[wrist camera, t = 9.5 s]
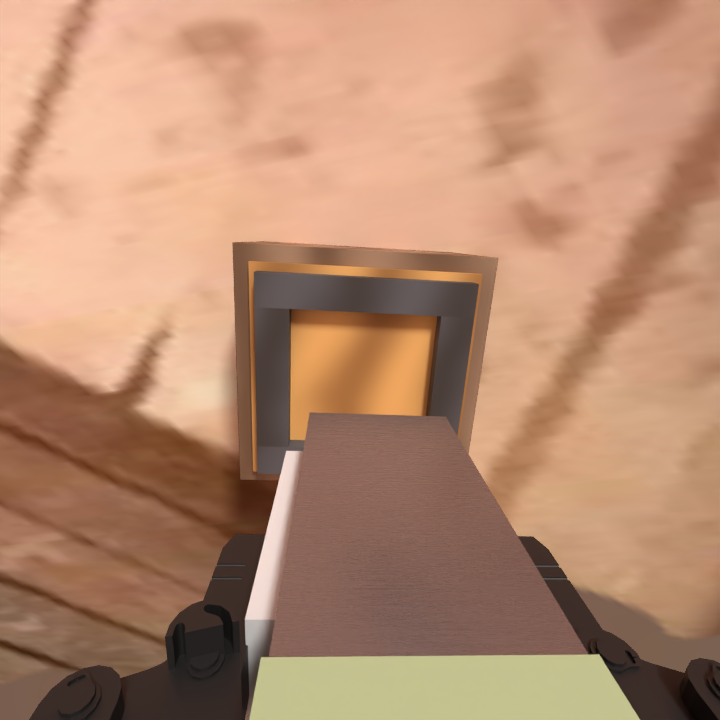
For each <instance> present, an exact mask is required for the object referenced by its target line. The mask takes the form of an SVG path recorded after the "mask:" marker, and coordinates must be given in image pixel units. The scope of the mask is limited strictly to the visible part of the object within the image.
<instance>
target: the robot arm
mask: <svg viewBox="0 0 720 720" xmlns="http://www.w3.org/2000/svg"><path fill="white" fill-rule="evenodd" d="M302 455H303V451H286V454H285V458H284V462H283V467H282V471H281V475H280V479H279V483H278V487H277V491H276V495H275V499H274V503H273V507H272V511H271V515H270V519H269V523H268V527H267V532H266V535H254V534H235V535H234V536H233V538H232V539H231V540H230V541H229V542H228V543H227V544H226V545H225V546H224V547H223V549H222V552H221V554H220V557H219V560H218V563H217V567H216V568H215V571H214V573H213V576H212V580H211V581H210V584H209V587H208V589H207V592H206V595H205V597H204V600H203V601H200V602H197V603H195V604H192V605H190V606H189V607H187V608H186V609H184V610H183V611H182V612H180V613H179V614H178V615H177V616H176V618H175V619H174V620H173V621H172V622H171V624H170V625H169V628H168V631H167V633H166V636H165V641H166V650H167V660H166V661H165V662H163V663H162V664H160V665H158V666H155V667H153V668H151V669H148V670H145V671H142V672H139V673H136V674H133V675H129V676H126V677H123V678H120V676H119V674H118V673H117V672H116V671H114V670H113V669H112V668H111V667H106V666H100V665H98V666H93V667H88V668H83V669H81V670H79V671H77V672H75V673H73V674H71V675H69V676H67V677H66V678H65V679H63V680H62V681H61V682H60V683H58V684H57V685H56V686H55V687H53V688H52V689H51V690H50V691H49V693H48V694H47V695H46V696H45V698H44V699H43V700H42V701H41V702H40V704H39V705H38V707H37V708H36V710H35V711H34V713H33V714H32V716H31V718H30V719H29V720H245V715H246V710H247V705H248V716H250V714H251V708H252V703H253V697H254V692H255V687H256V681H257V676H258V671H259V665H260V660H261V657H269V653H270V647H271V641H272V635H273V629H274V623H275V617H276V611H277V605H278V599H279V593H280V587H281V581H282V575H283V569H284V563H285V557H286V551H287V545H288V539H289V533H290V527H291V521H292V515H293V509H294V503H295V497H296V491H297V485H298V479H299V473H300V467H301V461H302ZM518 538H519V539H520V541H521V543H522V544H523V546H524V548H525V549H526V551H527V553H528V554H529V556H530V558H531V559H532V561H533V563H534V564H535V566H536V568H537V569H538V571H539V573H540V574H541V576H542V578H543V579H544V581H545V583H546V584H547V586H548V588H549V589H550V591H551V593H552V594H553V596H554V598H555V599H556V601H557V603H558V604H559V606H560V608H561V609H562V611H563V613H564V614H565V616H566V618H567V619H568V621H569V623H570V624H571V626H572V628H573V629H574V631H575V633H576V634H577V636H578V638H579V639H580V641H581V643H582V644H583V646H584V648H585V649H586V651H587V653H588V654H589V655H598V654H599V655H600V657H601V658H602V660H603V661H604V663H605V665H606V666H607V668H608V669H609V671H610V673H611V674H612V676H613V677H614V679H615V681H616V682H617V684H618V685H619V687H620V689H621V690H622V692H623V693H624V695H625V697H626V698H627V700H628V701H629V703H630V705H631V706H632V708H633V709H634V711H635V712H636V714H637V716H638V717H639V719H640V720H720V663H718V662H716V661H713V660H708V659H702V658H699V659H695V660H691V662H690V663H689V665H688V667H687V669H686V671H685V673H682V672H679V671H676V670H672V669H669V668H665V667H662V666H659V665H655V664H652V663H649V662H646V661H643V660H641V659H640V658H639V656H638V655H637V653H636V652H635V651H634V650H633V649H632V648H631V647H630V646H629V645H628V644H627V643H625V642H624V641H623V640H621V639H620V638H618V637H617V636H615V635H613V634H612V633H610V632H606V631H604V630H602V628H601V627H600V625H599V624H598V622H597V621H596V620H595V618H594V616H593V615H592V613H591V612H590V610H589V609H588V608H587V606H586V605H585V603H584V602H583V600H582V599H581V597H580V596H579V594H578V593H577V591H576V590H575V588H574V587H573V585H572V584H571V582H570V581H568V580H567V576H566V575H565V573H564V572H563V570H562V569H561V568H559V565H558V563H557V562H556V560H555V559H554V557H553V556H552V554H551V553H550V551H549V550H548V549H547V548H546V547H545V546H544V545H542V544H541V543H540V542H539V541H538V540H536V539H535V538H534V537H524V536H518Z"/></svg>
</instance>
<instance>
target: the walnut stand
mask: <svg viewBox="0 0 720 720" xmlns="http://www.w3.org/2000/svg"><path fill="white" fill-rule="evenodd" d="M497 264H498V258H493V257H485V256H477V255H468V254H460V253H450V252H433V251H416V250H399V249H382V248H365V247H348V246H331V245H315V244H298V243H281V242H264V241H263V242H233V271H234V301H235V332H236V362H237V393H238V423H239V454H240V480H279V479H280V475H281V471H282V467H283V462H284V458H285V454H286V451H303V449H304V443H305V437H306V431H307V425H308V419H309V413H310V412H316V413H348V414H379V415H411V416H443V417H446V418H447V420H448V421H449V423H450V425H451V426H452V428H453V430H454V431H455V433H456V435H457V436H458V438H459V440H460V441H461V443H462V445H463V446H464V448H465V450H466V451H467V453H468V454H469V447H470V440H471V434H472V427H473V421H474V414H475V408H476V401H477V395H478V388H479V382H480V375H481V369H482V362H483V355H484V349H485V342H486V336H487V329H488V323H489V316H490V310H491V303H492V297H493V290H494V283H495V277H496V270H497Z"/></svg>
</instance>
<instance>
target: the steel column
mask: <svg viewBox="0 0 720 720" xmlns="http://www.w3.org/2000/svg"><path fill="white" fill-rule="evenodd" d="M249 720H640V719H639V717H638V716H637V714H636V712H635V711H634V709H633V708H632V706H631V705H630V703H629V701H628V700H627V698H626V697H625V695H624V693H623V692H622V690H621V689H620V687H619V685H618V684H617V682H616V681H615V679H614V677H613V676H612V674H611V673H610V671H609V669H608V668H607V666H606V665H605V663H604V661H603V660H602V658H601V657H600V655H599V654H598V655H589V654H588V653H587V651H586V649H585V648H584V646H583V644H582V643H581V641H580V639H579V638H578V636H577V634H576V633H575V631H574V629H573V628H572V626H571V624H570V623H569V621H568V619H567V618H566V616H565V614H564V613H563V611H562V609H561V608H560V606H559V604H558V603H557V601H556V599H555V598H554V596H553V594H552V593H551V591H550V589H549V588H548V586H547V584H546V583H545V581H544V579H543V578H542V576H541V574H540V573H539V571H538V569H537V568H536V566H535V564H534V563H533V561H532V559H531V558H530V556H529V554H528V553H527V551H526V549H525V548H524V546H523V544H522V543H521V541H520V539H519V538H518V536H517V534H516V533H515V531H514V529H513V528H512V526H511V524H510V523H509V521H508V519H507V518H506V516H505V514H504V513H503V511H502V509H501V508H500V506H499V504H498V503H497V501H496V499H495V498H494V496H493V495H492V493H491V491H490V490H489V488H488V486H487V485H486V483H485V481H484V480H483V478H482V476H481V475H480V473H479V471H478V470H477V468H476V466H475V465H474V463H473V461H472V460H471V458H470V456H469V455H468V453H467V451H466V450H465V448H464V446H463V445H462V443H461V441H460V440H459V438H458V436H457V435H456V433H455V431H454V430H453V428H452V426H451V425H450V423H449V421H448V420H447V418H446V417H443V416H411V415H379V414H348V413H316V412H310V413H309V419H308V425H307V431H306V437H305V443H304V449H303V455H302V461H301V467H300V473H299V479H298V485H297V491H296V497H295V503H294V509H293V515H292V521H291V527H290V533H289V539H288V545H287V551H286V557H285V563H284V569H283V575H282V581H281V587H280V593H279V599H278V605H277V611H276V617H275V623H274V629H273V635H272V641H271V647H270V653H269V657H261V660H260V665H259V671H258V676H257V681H256V687H255V692H254V697H253V703H252V708H251V714H250V719H249Z"/></svg>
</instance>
